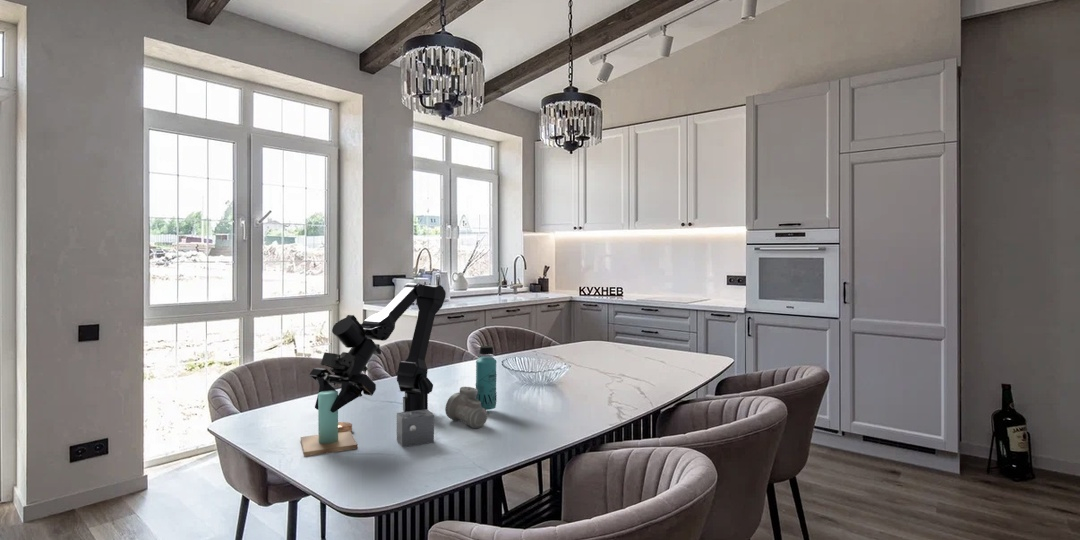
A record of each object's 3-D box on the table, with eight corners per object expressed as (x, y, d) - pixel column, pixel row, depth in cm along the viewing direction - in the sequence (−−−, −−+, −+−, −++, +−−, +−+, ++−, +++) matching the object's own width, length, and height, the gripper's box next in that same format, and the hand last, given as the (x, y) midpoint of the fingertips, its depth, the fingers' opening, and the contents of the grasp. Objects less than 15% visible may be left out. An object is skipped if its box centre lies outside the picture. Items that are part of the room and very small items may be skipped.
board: (349, 434, 147) (349, 430, 147) (357, 448, 136) (357, 444, 136) (300, 441, 141) (300, 437, 141) (304, 456, 131) (304, 452, 131)
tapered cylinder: (340, 437, 141) (340, 390, 141) (334, 443, 137) (334, 395, 136) (322, 437, 141) (322, 390, 141) (315, 443, 137) (315, 395, 136)
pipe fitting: (442, 420, 159) (447, 385, 158) (465, 417, 164) (470, 383, 163) (465, 435, 150) (470, 398, 149) (489, 431, 155) (494, 395, 154)
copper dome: (347, 428, 153) (347, 420, 153) (355, 433, 148) (355, 426, 148) (325, 431, 149) (325, 424, 149) (332, 438, 145) (332, 430, 144)
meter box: (427, 435, 146) (427, 408, 146) (434, 443, 140) (434, 415, 140) (396, 439, 143) (396, 412, 143) (402, 448, 137) (402, 420, 136)
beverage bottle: (471, 413, 167) (471, 347, 166) (481, 408, 173) (481, 343, 172) (490, 416, 164) (490, 348, 164) (500, 410, 171) (500, 345, 170)
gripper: (314, 337, 146) (278, 387, 137) (367, 342, 137) (331, 397, 128) (338, 361, 153) (305, 411, 144) (390, 368, 144) (358, 422, 135)
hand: (323, 410), depth 137 cm, fingers open, 5 cm apart
